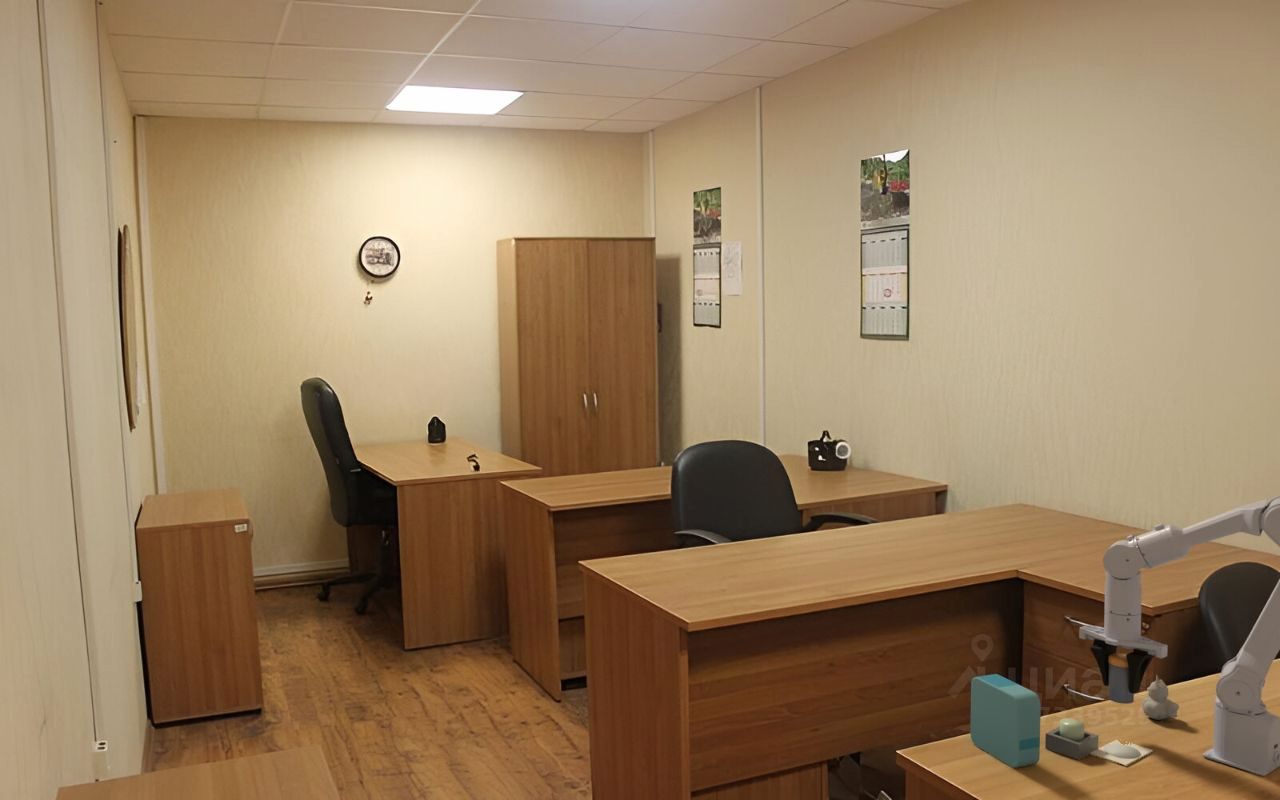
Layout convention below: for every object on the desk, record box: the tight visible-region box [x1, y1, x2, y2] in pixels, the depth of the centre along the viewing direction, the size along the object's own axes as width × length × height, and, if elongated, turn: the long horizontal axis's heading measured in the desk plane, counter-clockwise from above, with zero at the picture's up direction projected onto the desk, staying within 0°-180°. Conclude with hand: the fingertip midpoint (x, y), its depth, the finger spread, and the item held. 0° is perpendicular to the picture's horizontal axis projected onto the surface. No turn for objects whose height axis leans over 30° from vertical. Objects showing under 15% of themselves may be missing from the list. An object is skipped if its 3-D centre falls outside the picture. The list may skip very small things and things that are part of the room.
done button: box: [1059, 717, 1086, 742], centre depth 172 cm, size 4×4×3 cm
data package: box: [970, 673, 1042, 769], centre depth 170 cm, size 12×4×12 cm, turn 20°
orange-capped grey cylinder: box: [1107, 652, 1135, 705], centre depth 177 cm, size 4×4×8 cm
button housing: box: [1045, 726, 1099, 761], centre depth 172 cm, size 6×6×3 cm
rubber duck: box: [1141, 675, 1180, 721], centre depth 184 cm, size 5×7×8 cm
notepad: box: [1089, 739, 1154, 767], centre depth 170 cm, size 6×9×1 cm, turn 127°
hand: (1121, 688), depth 177 cm, fingers closed on orange-capped grey cylinder, 4 cm apart
